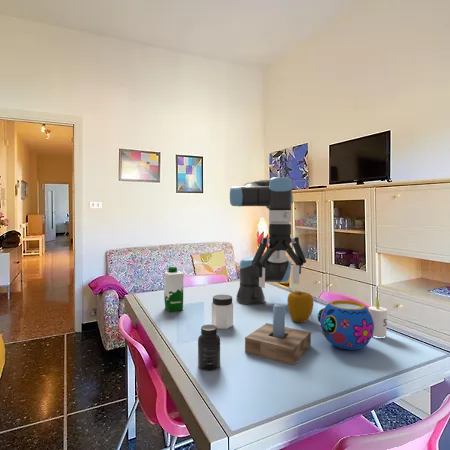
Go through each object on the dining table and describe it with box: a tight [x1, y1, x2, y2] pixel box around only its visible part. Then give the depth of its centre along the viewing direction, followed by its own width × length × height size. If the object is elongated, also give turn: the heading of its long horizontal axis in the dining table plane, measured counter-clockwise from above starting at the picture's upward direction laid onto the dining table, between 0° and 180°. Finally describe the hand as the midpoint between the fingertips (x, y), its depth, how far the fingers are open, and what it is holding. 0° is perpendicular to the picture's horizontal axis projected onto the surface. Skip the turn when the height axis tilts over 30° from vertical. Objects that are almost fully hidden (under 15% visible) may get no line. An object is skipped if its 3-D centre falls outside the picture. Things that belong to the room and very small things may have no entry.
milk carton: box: [163, 266, 184, 313], centre depth 155 cm, size 9×9×20 cm
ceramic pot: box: [317, 299, 374, 351], centre depth 112 cm, size 18×18×15 cm
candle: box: [368, 296, 388, 337], centre depth 122 cm, size 6×6×15 cm
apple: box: [287, 290, 314, 323], centre depth 140 cm, size 11×11×13 cm
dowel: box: [272, 303, 286, 339], centre depth 110 cm, size 4×4×15 cm
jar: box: [211, 294, 234, 330], centre depth 133 cm, size 9×8×12 cm
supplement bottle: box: [197, 324, 221, 371], centre depth 97 cm, size 7×7×12 cm
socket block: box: [244, 322, 312, 366], centre depth 110 cm, size 17×17×5 cm
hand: (279, 285), depth 109 cm, fingers open, 13 cm apart
